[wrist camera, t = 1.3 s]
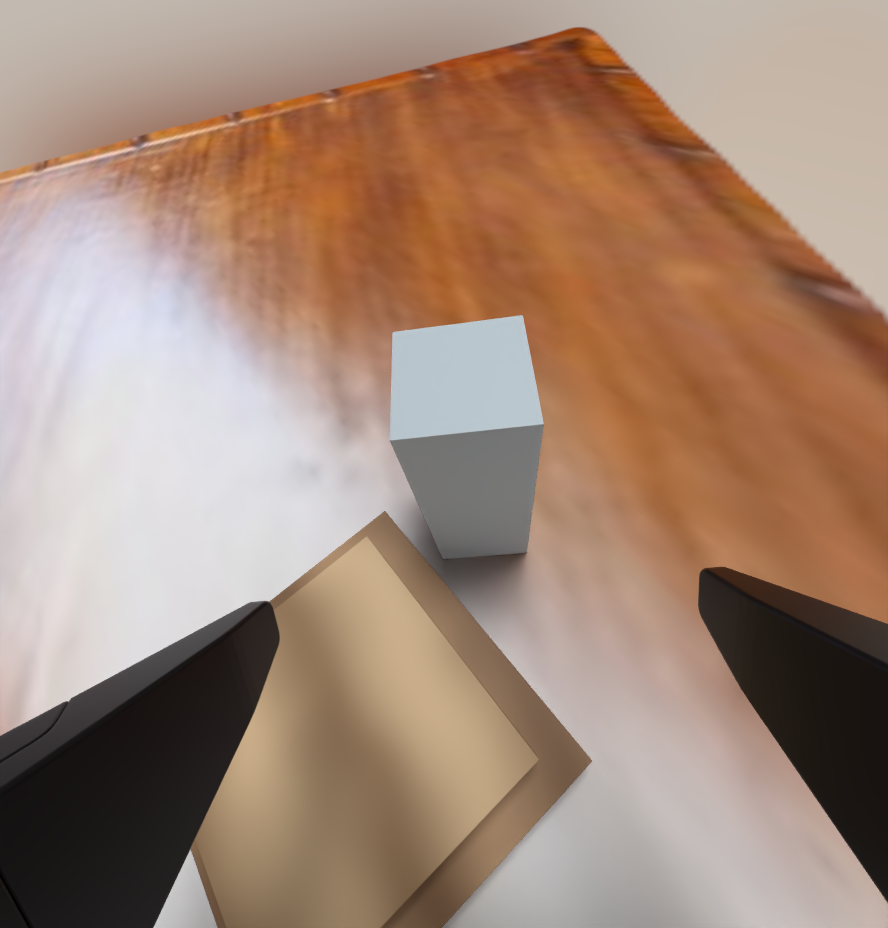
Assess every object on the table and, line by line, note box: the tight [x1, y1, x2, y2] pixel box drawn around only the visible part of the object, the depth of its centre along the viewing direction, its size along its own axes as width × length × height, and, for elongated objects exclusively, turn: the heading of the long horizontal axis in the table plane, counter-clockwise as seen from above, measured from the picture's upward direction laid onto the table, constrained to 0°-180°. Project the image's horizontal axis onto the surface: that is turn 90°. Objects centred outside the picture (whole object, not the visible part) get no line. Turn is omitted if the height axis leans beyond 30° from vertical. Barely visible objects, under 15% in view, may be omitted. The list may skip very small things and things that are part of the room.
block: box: [390, 315, 544, 559], centre depth 19 cm, size 4×4×12 cm
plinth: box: [191, 511, 592, 928], centre depth 18 cm, size 14×14×4 cm
